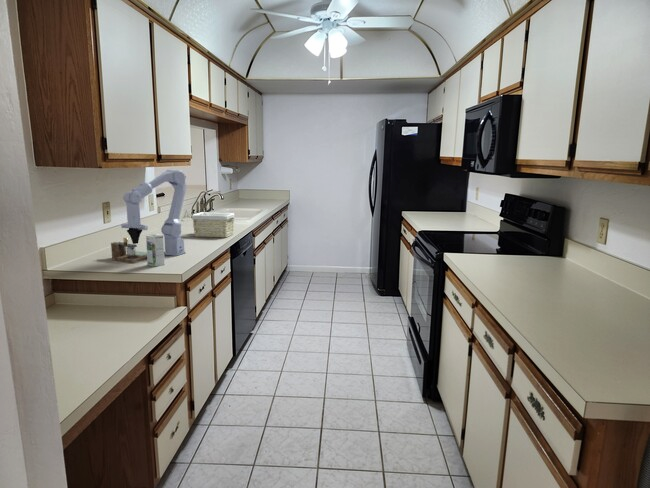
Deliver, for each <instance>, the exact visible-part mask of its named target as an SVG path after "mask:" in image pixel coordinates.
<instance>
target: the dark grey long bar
mask: <svg viewBox="0 0 650 488" xmlns="http://www.w3.org/2000/svg"><path fill="white" fill-rule="evenodd" d="M112 243H113V244H119V246H123V247H126V248H127V247H131V248H133V247H135V248H136V247H137V245H138V244H133V243H129V238H128V237H124V238H123V243H118V242H117V241H113V242H110V245H111V244H112Z"/></svg>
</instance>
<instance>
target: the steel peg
mask: <svg viewBox="0 0 650 488" xmlns="http://www.w3.org/2000/svg"><path fill="white" fill-rule="evenodd" d="M136 252H137V251H136V247H133V248H131V247H126V254H127V258H129V259H133V258H136Z"/></svg>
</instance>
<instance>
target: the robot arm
mask: <svg viewBox="0 0 650 488" xmlns="http://www.w3.org/2000/svg"><path fill="white" fill-rule="evenodd" d="M186 179H187V176H186V175H185V173H184V171H182V170H181V169H179V170H177V169H167V170H166V171H163V172H161V174H159V175H158V176H156V177H155V178H153V179H152V180H150V182H140V183H139V185H138V186H137V187H135V188H134V187H133V188H132V190H128V191H126V192H124V196H122V199H123V200H124V202H125V203H126V204H125V206H126V219H127V223H122V224H121V229H126V232H127V234H128V235H129V237H130V239H131V242H132V244H134V245H138V244H139V240H140V236H141V235H142V232H143V231H147V230H149V229H148V225H144V224H141V213H140V212H141V211H140V209H141V208H140V203H141V201H142V199H144V198H145V197H147V196H148V195H150V194H151V193H153V189H155V188H157V187H159V186H160V185H162V184H164V183H169V184H170V185H171V186H172V188H174V190H173V191H174V192H173V196H172V198H171V199H172V201H171V204H170V208H169V213H168V217H167V219H165V221H164V223H163V225H162V226H161V228H160V229H161V234H163V240H164V256H165V255H166V256H167V255H168V256H174V257H177V256H180V255H183V254H186V251H185V241H184V239H183V238H182V237H180V236H181V234H182V223H181V221H180V216H181V212H182V208H183V204H184V200H185V195H186V191H187V185H186Z"/></svg>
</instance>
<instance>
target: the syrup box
mask: <svg viewBox="0 0 650 488" xmlns="http://www.w3.org/2000/svg"><path fill="white" fill-rule="evenodd" d="M145 240H146V252H147V255H146V256H147V259H146V260H147V262H146V263H147V264H146V265H148V266H151V267H160V266H163V265H165V254H164V252H165V241H164V234H163V235H162V234H158V233H151V234H147V235H145Z"/></svg>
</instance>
